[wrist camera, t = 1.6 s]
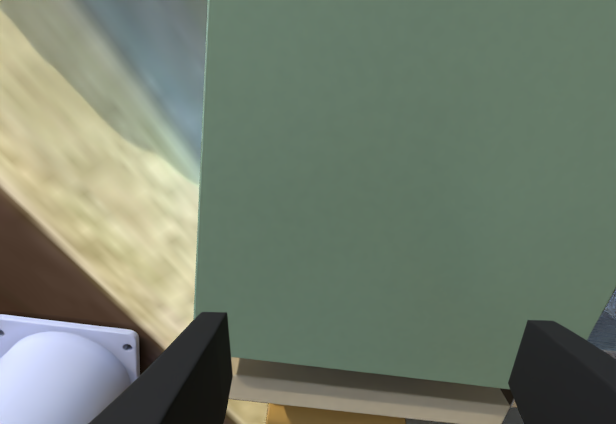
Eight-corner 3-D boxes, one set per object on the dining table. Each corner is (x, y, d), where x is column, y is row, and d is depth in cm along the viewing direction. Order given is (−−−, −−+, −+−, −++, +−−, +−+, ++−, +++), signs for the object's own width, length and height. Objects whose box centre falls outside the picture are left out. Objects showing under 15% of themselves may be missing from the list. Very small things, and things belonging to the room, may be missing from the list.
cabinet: (461, 269, 19) (556, 395, 12) (237, 238, 19) (191, 353, 11) (562, -9, 15) (824, -82, 7) (264, -64, 14) (216, -209, 7)
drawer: (418, 379, 21) (462, 503, 15) (235, 358, 21) (205, 478, 15) (525, 81, 15) (669, 93, 9) (268, 37, 15) (240, 19, 9)
